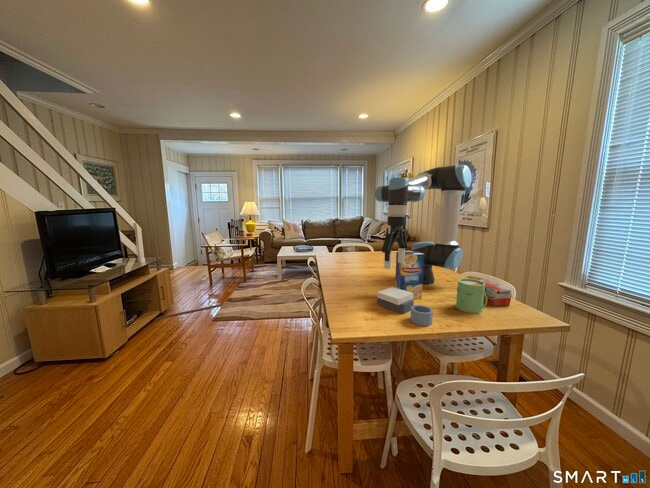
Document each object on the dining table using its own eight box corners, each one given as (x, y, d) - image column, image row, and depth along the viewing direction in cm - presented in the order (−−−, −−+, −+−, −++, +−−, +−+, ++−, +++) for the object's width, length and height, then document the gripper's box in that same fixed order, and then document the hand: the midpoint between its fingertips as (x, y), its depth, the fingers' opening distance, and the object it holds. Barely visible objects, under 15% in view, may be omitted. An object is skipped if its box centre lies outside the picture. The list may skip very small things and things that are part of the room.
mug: (450, 306, 113) (452, 280, 111) (466, 302, 117) (468, 277, 116) (476, 317, 102) (479, 289, 100) (493, 313, 106) (496, 285, 104)
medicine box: (510, 306, 113) (512, 289, 112) (493, 307, 112) (495, 290, 111) (484, 294, 128) (486, 279, 127) (470, 295, 127) (471, 279, 126)
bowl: (417, 314, 104) (417, 303, 104) (436, 321, 98) (436, 309, 98) (406, 320, 99) (406, 308, 99) (425, 328, 93) (426, 315, 92)
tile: (392, 291, 120) (392, 286, 119) (413, 298, 111) (413, 293, 111) (377, 297, 113) (377, 292, 112) (398, 305, 104) (398, 299, 104)
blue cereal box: (421, 298, 122) (424, 254, 118) (399, 299, 121) (401, 254, 117) (415, 293, 128) (417, 251, 125) (394, 294, 127) (396, 251, 124)
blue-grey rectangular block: (386, 300, 120) (386, 292, 120) (413, 309, 110) (413, 300, 109) (377, 303, 116) (377, 295, 115) (403, 314, 105) (404, 304, 105)
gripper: (400, 214, 117) (398, 259, 121) (374, 216, 98) (372, 269, 101) (416, 215, 113) (413, 261, 116) (392, 217, 93) (390, 273, 97)
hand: (394, 265), depth 109 cm, fingers open, 13 cm apart
